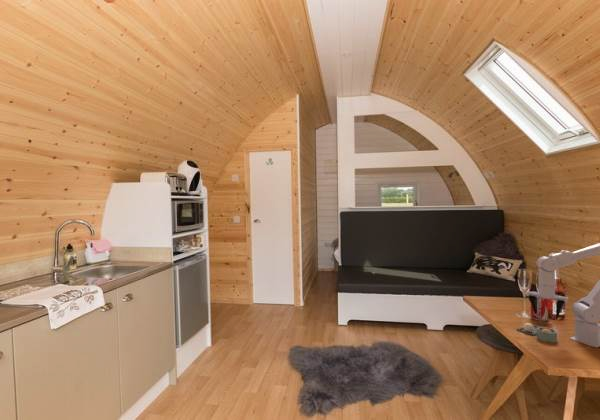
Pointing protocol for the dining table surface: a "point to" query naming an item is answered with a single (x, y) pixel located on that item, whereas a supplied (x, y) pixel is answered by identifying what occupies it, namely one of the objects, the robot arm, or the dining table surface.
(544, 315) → the soda can
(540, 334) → the teal tube
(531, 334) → the slate tray
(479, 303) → the dining table surface
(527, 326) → the ball cream
